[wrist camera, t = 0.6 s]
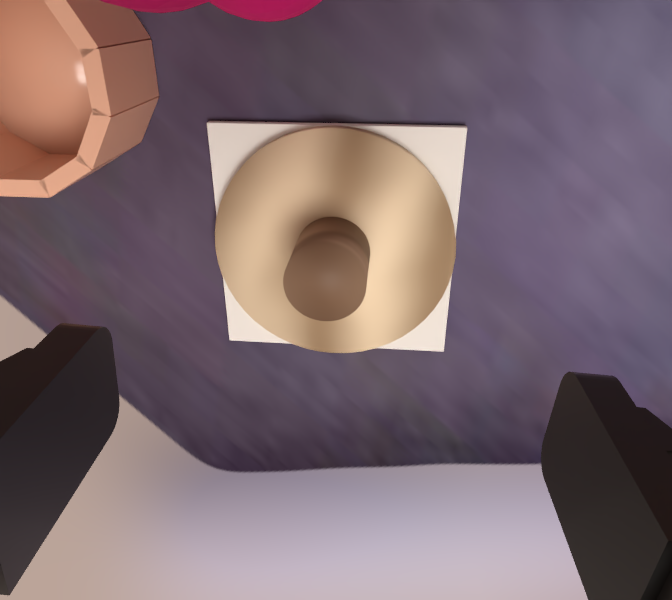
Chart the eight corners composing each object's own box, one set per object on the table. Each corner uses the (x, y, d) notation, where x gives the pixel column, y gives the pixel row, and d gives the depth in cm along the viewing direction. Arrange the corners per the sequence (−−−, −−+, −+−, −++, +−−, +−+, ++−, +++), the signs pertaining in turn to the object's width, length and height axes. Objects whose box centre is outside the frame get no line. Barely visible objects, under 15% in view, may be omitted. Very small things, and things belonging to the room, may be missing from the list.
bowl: (138, -50, 26) (79, -60, 21) (169, 167, 31) (126, 200, 26) (-66, -48, 27) (-169, -58, 22) (-6, 163, 32) (-79, 193, 27)
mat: (466, 125, 28) (467, 127, 28) (443, 346, 34) (443, 351, 34) (209, 120, 29) (206, 122, 29) (231, 335, 35) (229, 340, 35)
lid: (467, 127, 28) (479, 151, 24) (443, 351, 34) (449, 402, 30) (207, 122, 29) (174, 144, 25) (229, 339, 35) (206, 387, 31)
